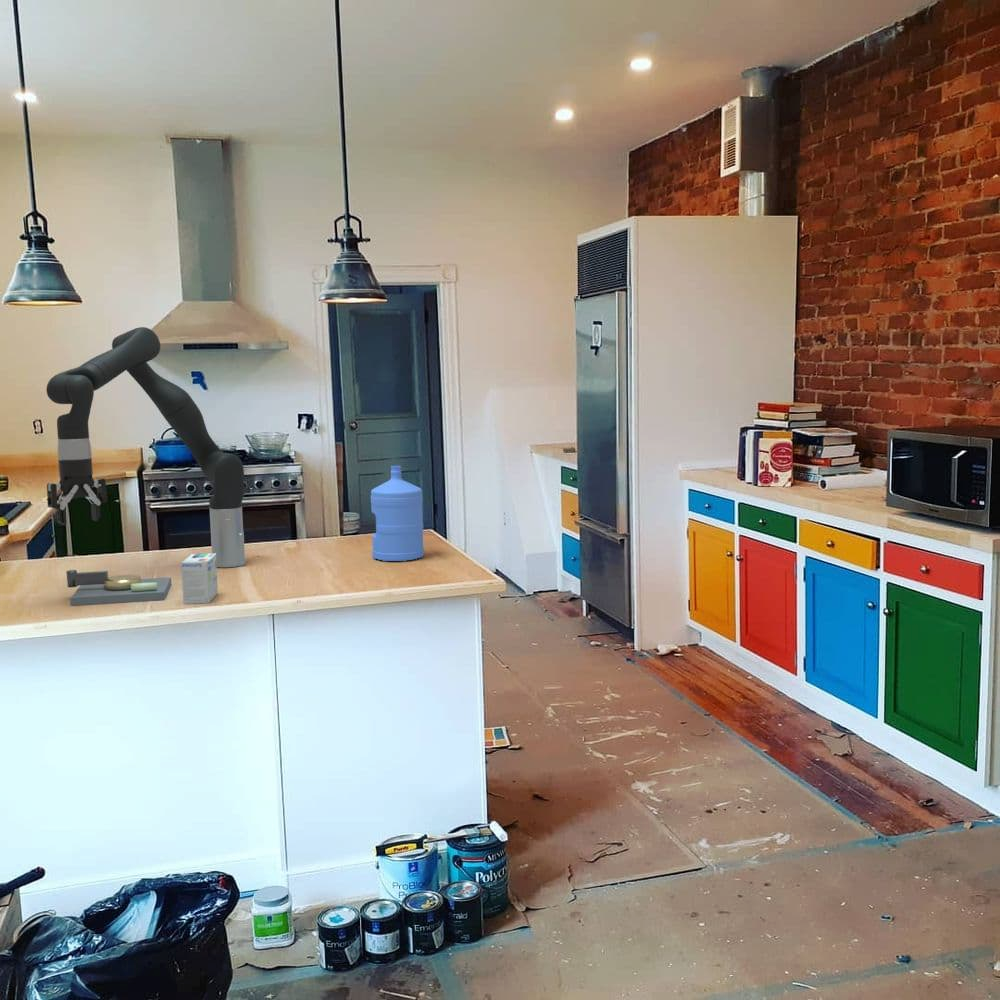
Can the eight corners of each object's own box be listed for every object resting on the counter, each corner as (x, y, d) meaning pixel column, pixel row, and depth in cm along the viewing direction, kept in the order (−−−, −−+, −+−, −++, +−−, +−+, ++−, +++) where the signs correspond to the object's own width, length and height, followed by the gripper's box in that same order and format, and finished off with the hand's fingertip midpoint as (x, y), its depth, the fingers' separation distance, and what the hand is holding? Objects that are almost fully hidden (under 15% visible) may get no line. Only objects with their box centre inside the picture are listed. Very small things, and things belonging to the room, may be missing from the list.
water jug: (434, 555, 297) (432, 464, 293) (402, 564, 284) (400, 469, 280) (394, 550, 305) (391, 462, 301) (361, 559, 292) (358, 467, 288)
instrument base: (171, 584, 261) (170, 570, 260) (164, 599, 244) (163, 584, 243) (84, 589, 256) (83, 575, 256) (70, 605, 239) (69, 590, 238)
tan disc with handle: (143, 581, 255) (142, 563, 254) (138, 588, 246) (137, 570, 246) (71, 585, 251) (70, 567, 250) (64, 593, 242) (62, 574, 242)
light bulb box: (192, 594, 250) (190, 553, 248) (219, 593, 250) (216, 552, 249) (182, 604, 239) (180, 561, 238) (210, 603, 240) (208, 560, 238)
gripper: (94, 454, 245) (99, 517, 247) (38, 458, 234) (43, 524, 236) (110, 455, 240) (114, 520, 243) (53, 460, 229) (58, 527, 232)
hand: (79, 522), depth 239 cm, fingers open, 8 cm apart
